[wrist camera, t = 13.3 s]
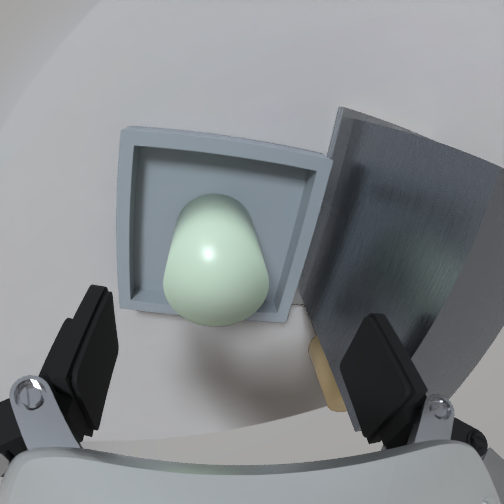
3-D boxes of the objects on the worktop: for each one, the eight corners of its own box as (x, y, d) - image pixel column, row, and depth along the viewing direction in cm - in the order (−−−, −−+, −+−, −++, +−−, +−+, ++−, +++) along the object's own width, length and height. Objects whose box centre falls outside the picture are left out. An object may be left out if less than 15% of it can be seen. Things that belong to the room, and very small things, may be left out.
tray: (321, 153, 18) (333, 160, 16) (280, 305, 23) (285, 322, 22) (130, 126, 16) (121, 129, 14) (125, 291, 21) (119, 308, 19)
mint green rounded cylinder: (259, 199, 18) (280, 247, 13) (245, 267, 21) (257, 329, 15) (179, 188, 17) (165, 233, 12) (172, 259, 20) (162, 321, 14)
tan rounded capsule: (365, 324, 26) (393, 373, 21) (346, 360, 28) (367, 408, 23) (318, 323, 25) (341, 378, 20) (301, 362, 27) (318, 414, 22)
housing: (429, 139, 18) (566, 201, 8) (371, 301, 25) (441, 414, 14) (338, 106, 17) (490, 143, 6) (287, 297, 23) (337, 438, 13)
